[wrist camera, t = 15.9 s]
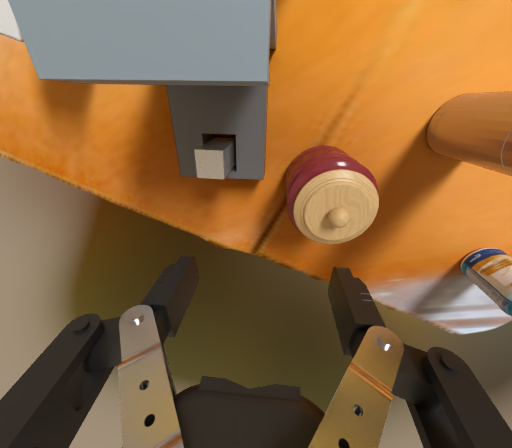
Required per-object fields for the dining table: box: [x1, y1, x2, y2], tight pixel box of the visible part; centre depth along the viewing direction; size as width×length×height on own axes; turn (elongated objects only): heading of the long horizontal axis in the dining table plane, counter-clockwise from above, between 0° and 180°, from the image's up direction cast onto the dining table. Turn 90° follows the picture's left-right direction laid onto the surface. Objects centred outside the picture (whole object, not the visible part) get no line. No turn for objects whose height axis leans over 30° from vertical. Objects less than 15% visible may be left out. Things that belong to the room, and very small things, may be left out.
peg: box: [194, 138, 236, 179], centre depth 35 cm, size 4×4×12 cm
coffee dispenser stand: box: [8, 0, 277, 86], centre depth 24 cm, size 17×8×24 cm, turn 89°
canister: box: [285, 146, 379, 244], centre depth 34 cm, size 13×13×18 cm
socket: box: [166, 85, 268, 180], centre depth 36 cm, size 15×17×5 cm
